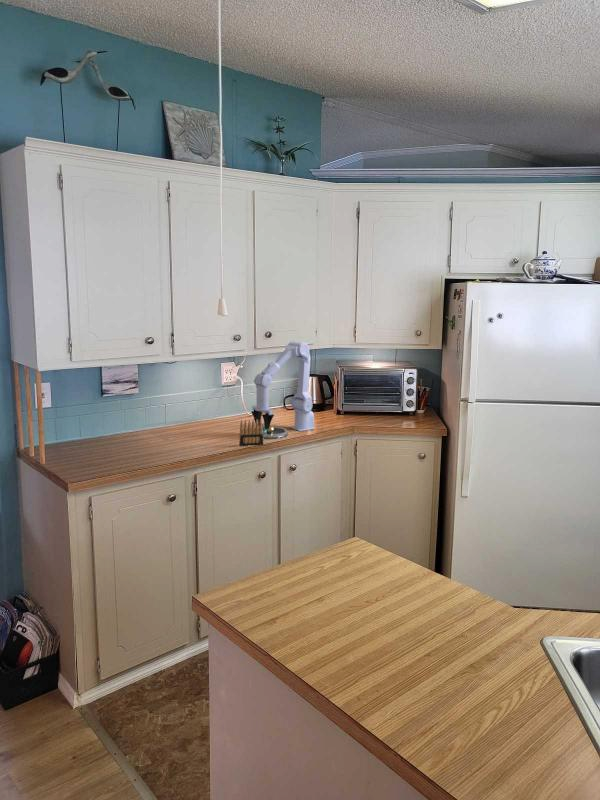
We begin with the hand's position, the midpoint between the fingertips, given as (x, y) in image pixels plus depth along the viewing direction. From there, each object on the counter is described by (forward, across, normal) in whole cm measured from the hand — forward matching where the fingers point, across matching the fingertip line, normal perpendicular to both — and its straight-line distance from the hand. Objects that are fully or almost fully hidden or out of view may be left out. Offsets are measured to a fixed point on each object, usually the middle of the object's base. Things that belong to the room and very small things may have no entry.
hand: (262, 427), depth 312 cm
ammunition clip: (+5, +11, -14) cm, 18 cm away
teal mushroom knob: (+4, 0, 0) cm, 4 cm away
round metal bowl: (+4, 0, +4) cm, 6 cm away
